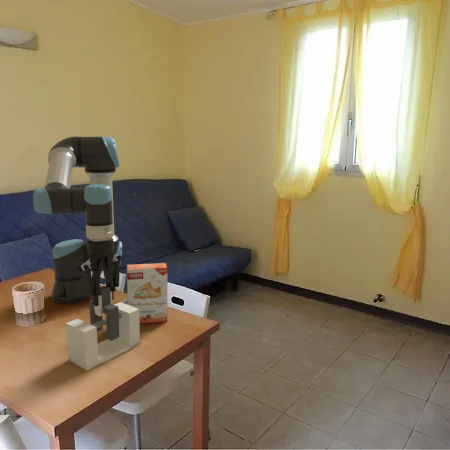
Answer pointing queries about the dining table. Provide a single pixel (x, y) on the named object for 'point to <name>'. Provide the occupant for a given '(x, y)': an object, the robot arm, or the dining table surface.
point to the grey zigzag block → (110, 312)
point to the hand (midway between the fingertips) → (103, 312)
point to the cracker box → (148, 291)
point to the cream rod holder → (98, 353)
